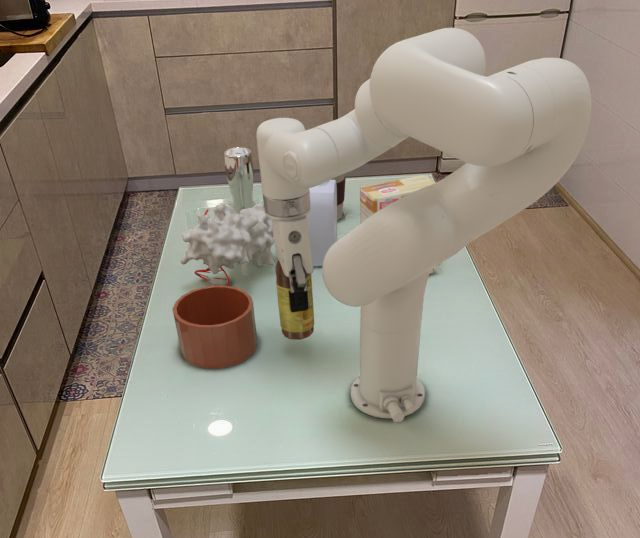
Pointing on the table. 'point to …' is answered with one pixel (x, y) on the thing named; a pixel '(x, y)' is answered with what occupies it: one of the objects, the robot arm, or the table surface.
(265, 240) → the lumpy white molecule
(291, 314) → the sauce bottle
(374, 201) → the coffeecake box
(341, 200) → the coffee cup
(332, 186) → the soap bottle
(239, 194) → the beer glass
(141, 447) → the table surface
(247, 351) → the crock
